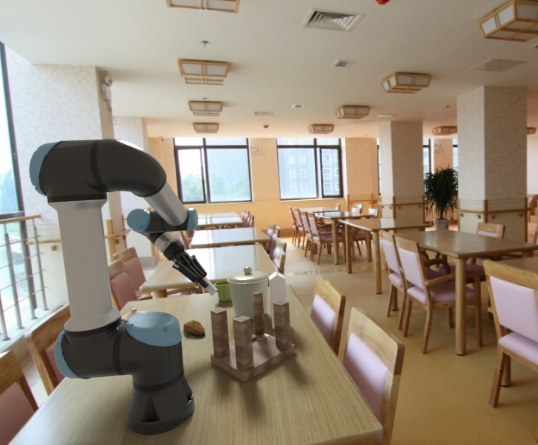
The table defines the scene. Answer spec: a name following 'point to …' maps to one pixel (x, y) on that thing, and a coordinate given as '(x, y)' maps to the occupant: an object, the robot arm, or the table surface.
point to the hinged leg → (258, 314)
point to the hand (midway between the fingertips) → (214, 292)
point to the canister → (247, 290)
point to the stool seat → (250, 343)
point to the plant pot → (223, 291)
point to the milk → (276, 290)
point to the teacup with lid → (131, 314)
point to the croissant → (194, 328)
